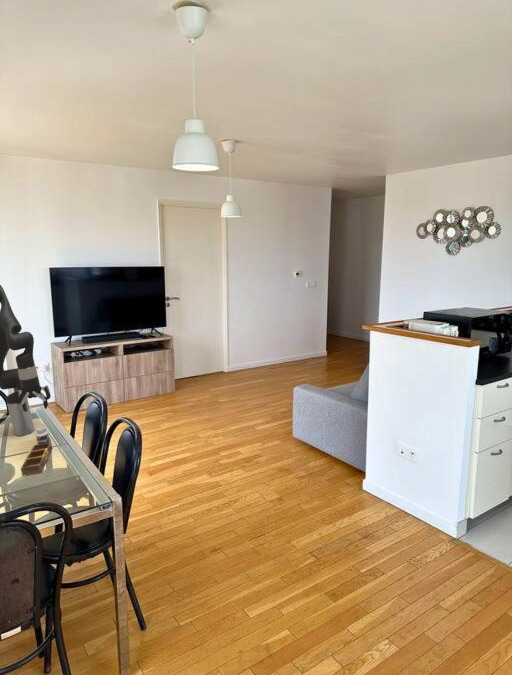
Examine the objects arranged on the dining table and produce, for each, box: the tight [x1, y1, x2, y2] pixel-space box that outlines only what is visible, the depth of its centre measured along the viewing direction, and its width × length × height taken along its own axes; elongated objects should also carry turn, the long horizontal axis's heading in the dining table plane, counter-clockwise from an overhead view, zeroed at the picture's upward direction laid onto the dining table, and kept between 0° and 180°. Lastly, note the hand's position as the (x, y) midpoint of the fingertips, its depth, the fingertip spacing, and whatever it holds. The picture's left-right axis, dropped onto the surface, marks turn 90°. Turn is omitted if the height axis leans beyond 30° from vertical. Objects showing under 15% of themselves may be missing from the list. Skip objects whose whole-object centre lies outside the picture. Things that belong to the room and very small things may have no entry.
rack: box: [20, 441, 53, 477], centre depth 202 cm, size 21×8×4 cm, turn 11°
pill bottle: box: [35, 426, 51, 445], centre depth 217 cm, size 5×5×9 cm
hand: (36, 409), depth 213 cm, fingers open, 8 cm apart
